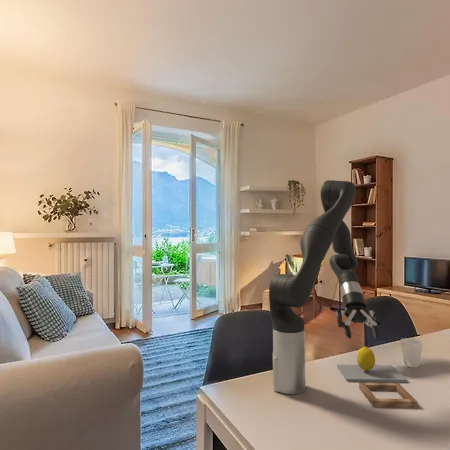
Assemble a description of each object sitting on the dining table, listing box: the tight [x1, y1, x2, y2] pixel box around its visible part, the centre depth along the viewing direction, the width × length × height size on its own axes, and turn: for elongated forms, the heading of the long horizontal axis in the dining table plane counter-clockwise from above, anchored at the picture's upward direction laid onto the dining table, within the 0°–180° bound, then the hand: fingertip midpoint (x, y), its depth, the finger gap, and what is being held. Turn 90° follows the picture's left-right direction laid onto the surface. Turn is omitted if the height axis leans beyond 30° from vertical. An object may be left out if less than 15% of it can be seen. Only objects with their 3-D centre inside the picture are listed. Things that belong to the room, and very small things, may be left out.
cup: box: [400, 337, 423, 368], centre depth 121 cm, size 7×10×8 cm
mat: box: [336, 364, 408, 383], centre depth 114 cm, size 18×12×1 cm, turn 86°
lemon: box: [356, 346, 376, 372], centre depth 115 cm, size 6×6×8 cm
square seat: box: [358, 382, 419, 409], centre depth 98 cm, size 11×11×2 cm
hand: (363, 337), depth 118 cm, fingers open, 8 cm apart
